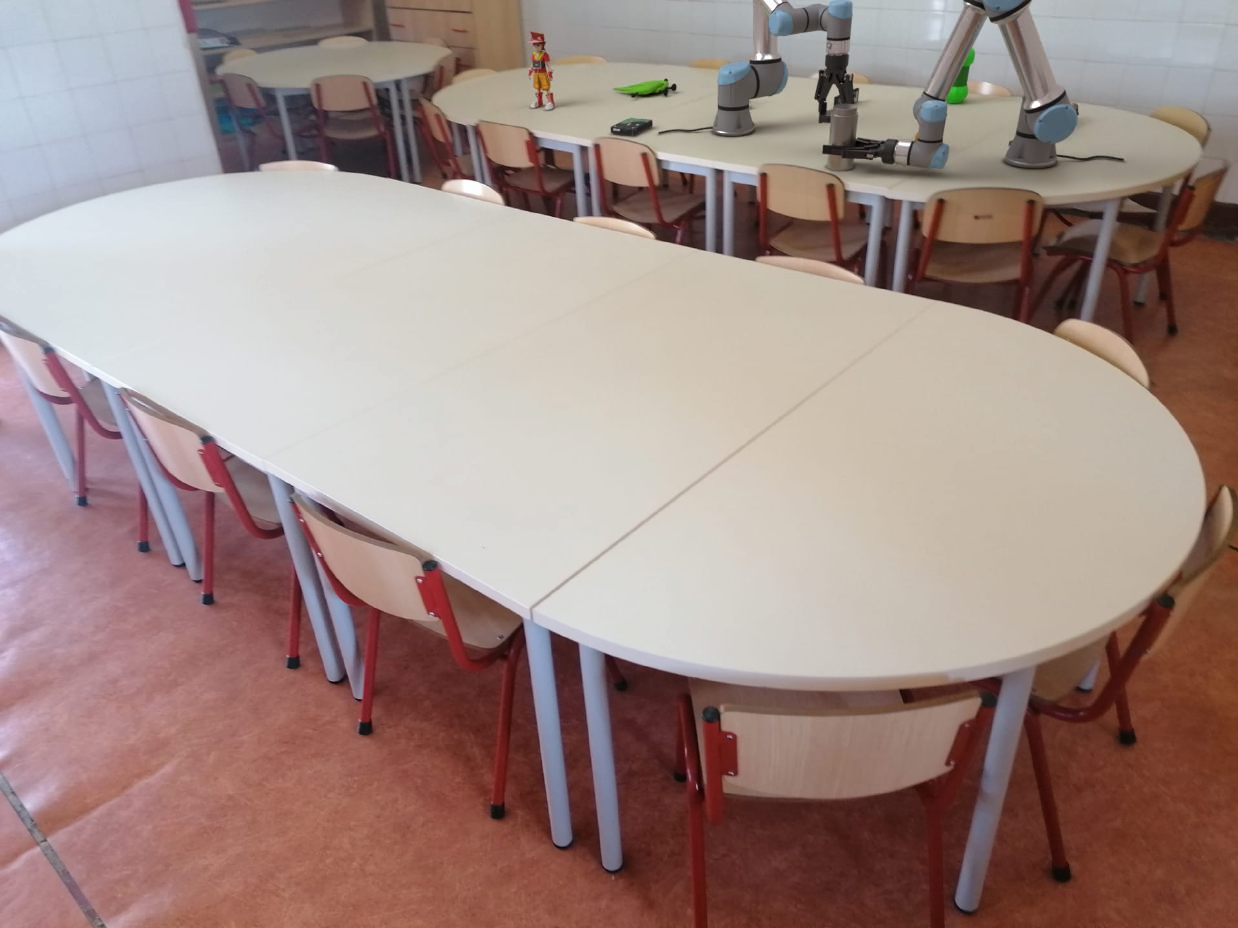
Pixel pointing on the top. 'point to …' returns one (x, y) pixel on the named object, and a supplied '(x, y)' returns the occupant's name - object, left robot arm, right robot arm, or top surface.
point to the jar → (842, 134)
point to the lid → (825, 116)
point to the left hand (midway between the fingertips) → (832, 125)
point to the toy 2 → (648, 88)
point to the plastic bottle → (961, 82)
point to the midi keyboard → (838, 100)
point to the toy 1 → (541, 71)
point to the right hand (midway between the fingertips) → (827, 145)
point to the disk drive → (631, 126)
